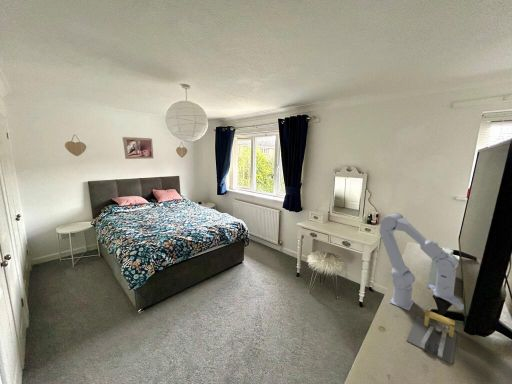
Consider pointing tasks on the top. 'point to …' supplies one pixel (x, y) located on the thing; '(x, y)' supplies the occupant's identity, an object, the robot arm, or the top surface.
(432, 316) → the yellow arch block
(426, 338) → the tong arm
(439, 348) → the tongs fixed
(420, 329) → the mat
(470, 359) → the top surface
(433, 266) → the skincare box
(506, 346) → the top surface
